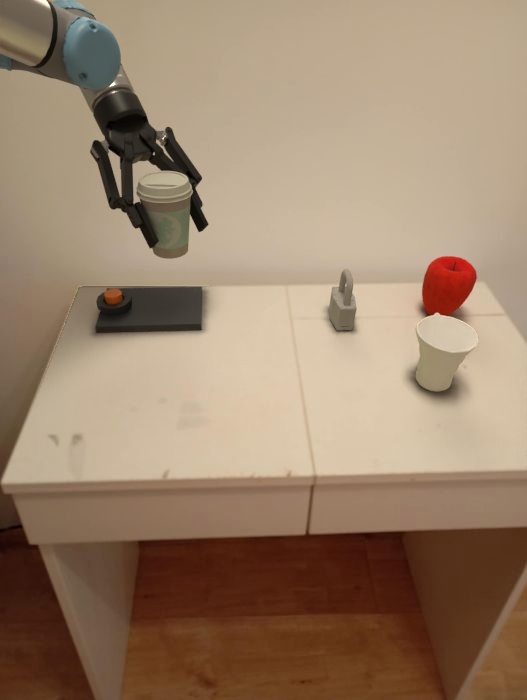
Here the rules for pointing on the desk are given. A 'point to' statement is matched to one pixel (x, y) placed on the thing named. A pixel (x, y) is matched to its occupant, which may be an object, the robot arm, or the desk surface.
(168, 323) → the scale
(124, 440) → the desk surface
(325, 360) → the desk surface
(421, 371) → the cup
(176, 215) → the coffee cup
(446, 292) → the apple
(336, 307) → the padlock
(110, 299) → the button
